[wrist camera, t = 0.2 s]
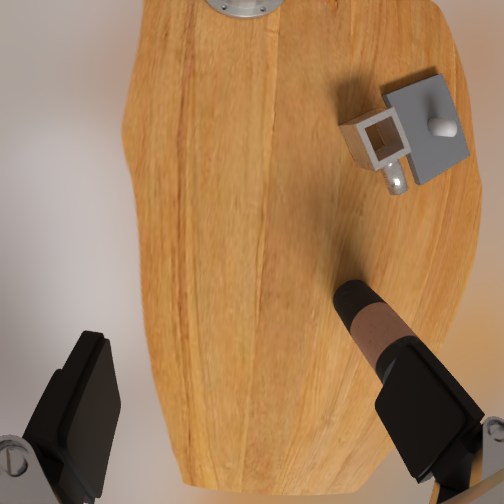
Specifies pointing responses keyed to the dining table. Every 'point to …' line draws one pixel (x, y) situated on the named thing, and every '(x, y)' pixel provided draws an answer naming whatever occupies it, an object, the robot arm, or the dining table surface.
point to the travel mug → (372, 325)
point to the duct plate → (417, 127)
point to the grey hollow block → (383, 156)
